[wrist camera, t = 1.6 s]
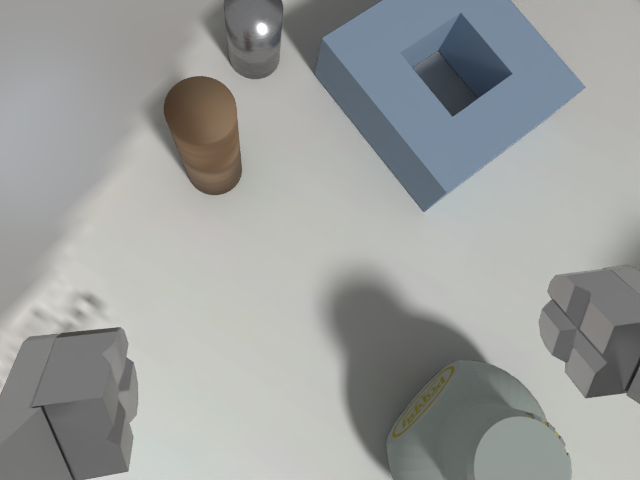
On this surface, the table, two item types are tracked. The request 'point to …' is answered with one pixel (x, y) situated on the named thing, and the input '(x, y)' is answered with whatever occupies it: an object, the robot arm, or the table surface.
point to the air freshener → (475, 430)
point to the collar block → (419, 101)
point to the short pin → (254, 36)
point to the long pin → (205, 133)
